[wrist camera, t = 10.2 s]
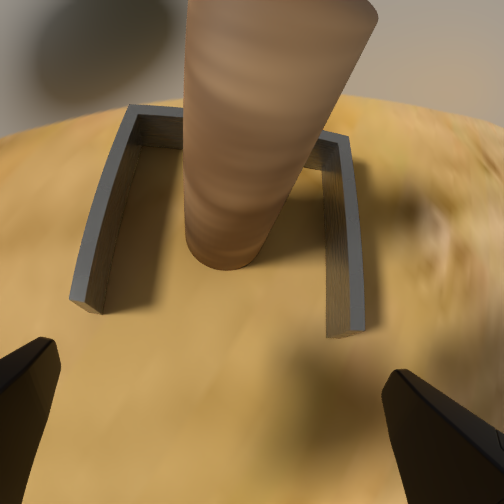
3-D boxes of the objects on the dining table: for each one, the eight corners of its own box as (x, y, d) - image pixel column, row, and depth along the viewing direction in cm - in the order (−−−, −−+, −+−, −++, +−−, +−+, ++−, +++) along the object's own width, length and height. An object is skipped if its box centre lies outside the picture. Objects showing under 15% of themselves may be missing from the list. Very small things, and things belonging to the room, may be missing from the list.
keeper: (339, 338, 17) (400, 318, 12) (88, 312, 15) (41, 280, 10) (331, 157, 22) (366, 98, 16) (136, 130, 20) (126, 61, 14)
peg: (277, 227, 19) (395, 9, 6) (234, 286, 17) (340, 53, 4) (216, 186, 19) (258, -48, 6) (169, 239, 18) (147, -19, 5)
